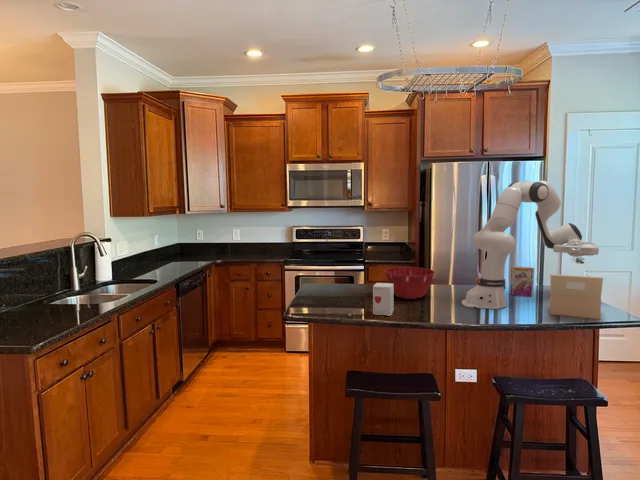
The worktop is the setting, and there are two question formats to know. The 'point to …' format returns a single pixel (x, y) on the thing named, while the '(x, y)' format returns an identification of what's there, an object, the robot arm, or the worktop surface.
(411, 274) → the mixing bowl
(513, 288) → the candy bar box
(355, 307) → the worktop surface
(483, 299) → the robot arm
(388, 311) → the supplement box
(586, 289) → the carton flap
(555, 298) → the carton
